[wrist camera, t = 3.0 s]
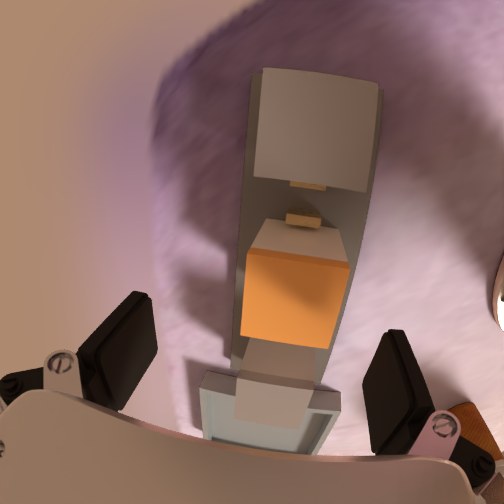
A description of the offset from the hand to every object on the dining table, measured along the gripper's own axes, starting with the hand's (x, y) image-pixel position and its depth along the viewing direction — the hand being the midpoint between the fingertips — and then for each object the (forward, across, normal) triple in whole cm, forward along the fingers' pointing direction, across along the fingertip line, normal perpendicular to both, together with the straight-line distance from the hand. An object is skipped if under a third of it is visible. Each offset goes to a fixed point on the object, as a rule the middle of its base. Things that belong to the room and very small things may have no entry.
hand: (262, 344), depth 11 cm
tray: (+10, -1, +20) cm, 22 cm away
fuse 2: (+9, -1, -8) cm, 12 cm away
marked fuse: (+9, -1, 0) cm, 9 cm away
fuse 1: (+9, -1, +8) cm, 12 cm away
